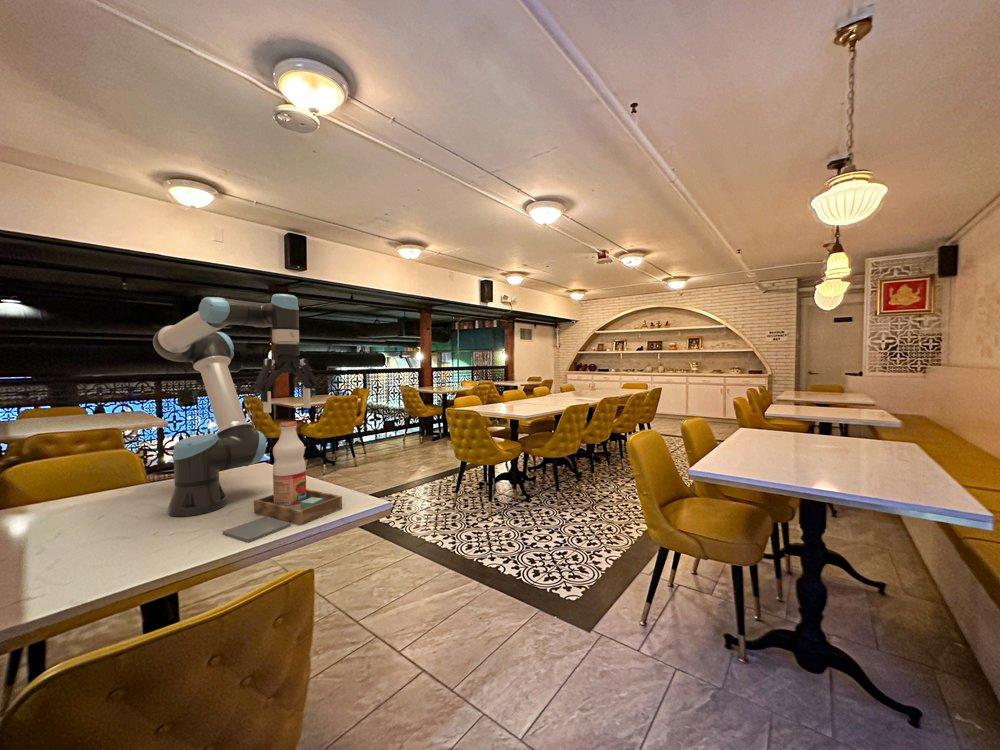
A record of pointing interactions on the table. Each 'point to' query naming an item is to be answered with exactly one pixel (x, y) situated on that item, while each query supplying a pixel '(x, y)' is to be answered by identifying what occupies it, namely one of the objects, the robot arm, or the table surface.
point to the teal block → (310, 502)
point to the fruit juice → (289, 468)
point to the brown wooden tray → (295, 515)
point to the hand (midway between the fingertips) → (288, 410)
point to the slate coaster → (256, 529)
